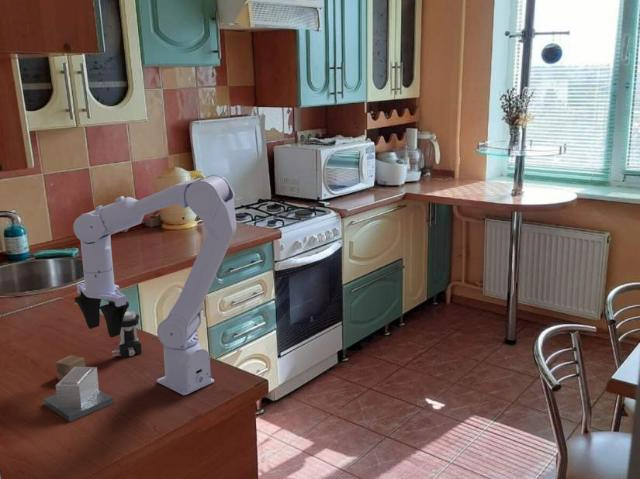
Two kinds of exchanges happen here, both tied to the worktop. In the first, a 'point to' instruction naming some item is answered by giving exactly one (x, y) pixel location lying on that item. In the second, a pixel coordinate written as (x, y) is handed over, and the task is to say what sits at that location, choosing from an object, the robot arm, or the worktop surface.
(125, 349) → the push button
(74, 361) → the tan cube
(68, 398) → the block
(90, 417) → the worktop surface
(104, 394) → the stand
